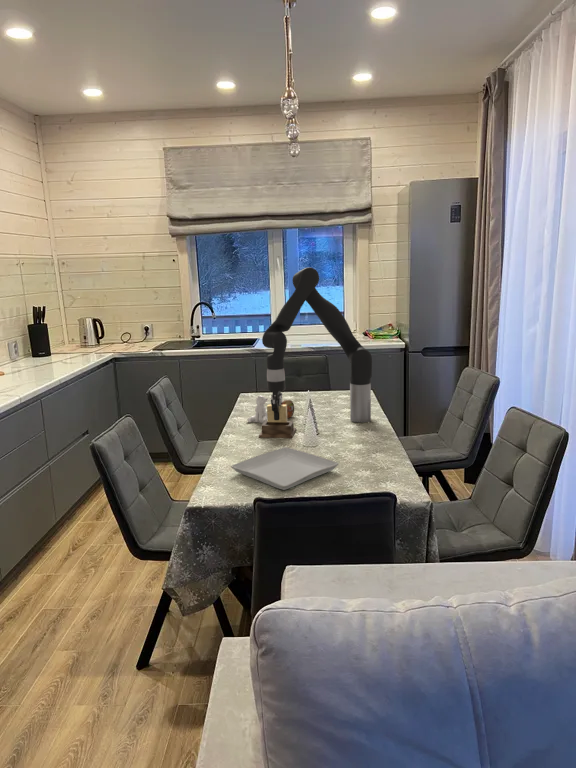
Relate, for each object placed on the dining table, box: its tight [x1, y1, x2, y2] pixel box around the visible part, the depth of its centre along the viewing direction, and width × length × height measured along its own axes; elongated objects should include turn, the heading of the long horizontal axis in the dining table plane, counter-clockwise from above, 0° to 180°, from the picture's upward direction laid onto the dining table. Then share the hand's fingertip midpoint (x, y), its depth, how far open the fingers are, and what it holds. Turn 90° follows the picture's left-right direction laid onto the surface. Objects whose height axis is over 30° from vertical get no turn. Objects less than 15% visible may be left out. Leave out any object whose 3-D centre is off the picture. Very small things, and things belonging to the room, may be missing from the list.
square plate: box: [230, 446, 340, 491], centre depth 194 cm, size 27×27×4 cm
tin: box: [282, 399, 295, 419], centre depth 261 cm, size 15×3×8 cm, turn 143°
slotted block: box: [258, 420, 297, 439], centre depth 239 cm, size 14×12×4 cm
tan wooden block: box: [266, 403, 288, 422], centre depth 237 cm, size 8×3×7 cm, turn 80°
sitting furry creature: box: [246, 395, 268, 424], centre depth 258 cm, size 10×9×12 cm
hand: (277, 418), depth 238 cm, fingers closed on tan wooden block, 3 cm apart
